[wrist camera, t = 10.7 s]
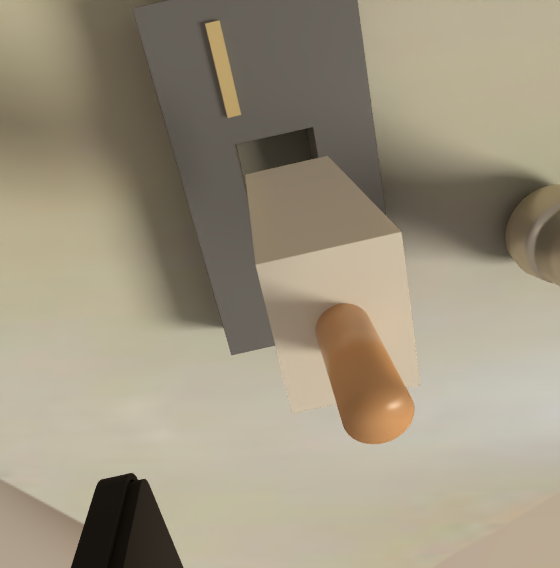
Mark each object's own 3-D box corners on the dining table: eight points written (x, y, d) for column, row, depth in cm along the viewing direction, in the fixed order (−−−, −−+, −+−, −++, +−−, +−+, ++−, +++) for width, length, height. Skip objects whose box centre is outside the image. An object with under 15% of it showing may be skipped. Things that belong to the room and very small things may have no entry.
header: (143, 14, 32) (131, 8, 28) (337, -31, 32) (352, -43, 28) (231, 328, 41) (231, 357, 37) (384, 294, 41) (400, 319, 37)
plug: (245, 174, 25) (263, 336, 11) (327, 155, 25) (459, 292, 11) (267, 270, 27) (309, 517, 13) (344, 252, 27) (475, 480, 13)
